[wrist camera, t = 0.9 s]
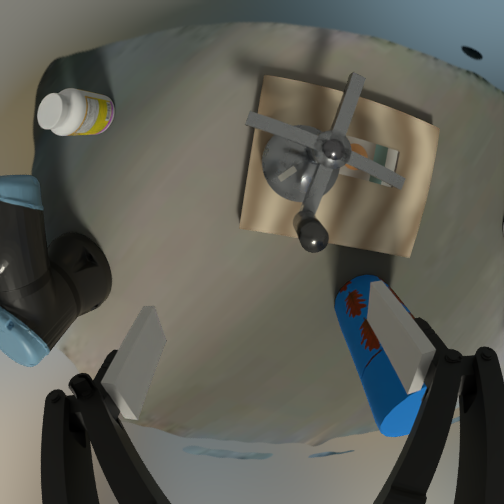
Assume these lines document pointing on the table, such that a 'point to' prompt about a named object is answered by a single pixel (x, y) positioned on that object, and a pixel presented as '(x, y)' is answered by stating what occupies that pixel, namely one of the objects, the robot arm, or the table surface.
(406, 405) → the thermos
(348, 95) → the grey cross
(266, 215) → the stand base
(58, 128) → the supplement bottle
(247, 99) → the table surface
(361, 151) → the ball
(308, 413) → the table surface
